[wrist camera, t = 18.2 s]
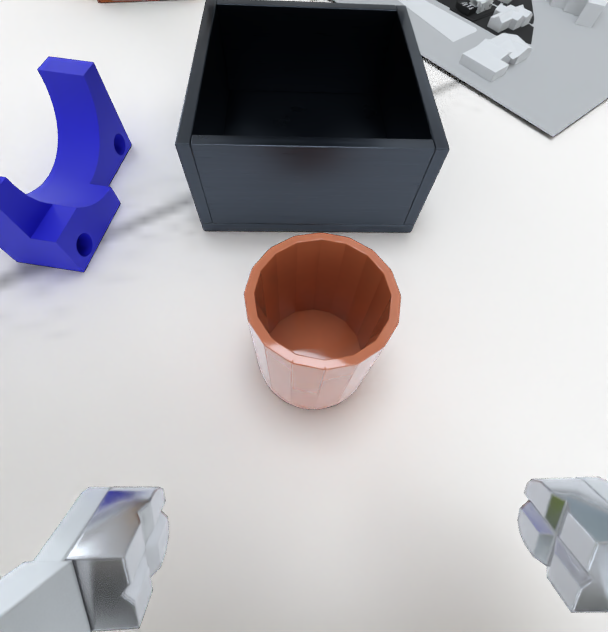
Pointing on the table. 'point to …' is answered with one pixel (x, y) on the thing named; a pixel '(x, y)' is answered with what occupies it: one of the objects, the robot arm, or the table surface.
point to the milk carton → (121, 0)
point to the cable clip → (68, 175)
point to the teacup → (319, 316)
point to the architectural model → (519, 52)
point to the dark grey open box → (309, 118)
